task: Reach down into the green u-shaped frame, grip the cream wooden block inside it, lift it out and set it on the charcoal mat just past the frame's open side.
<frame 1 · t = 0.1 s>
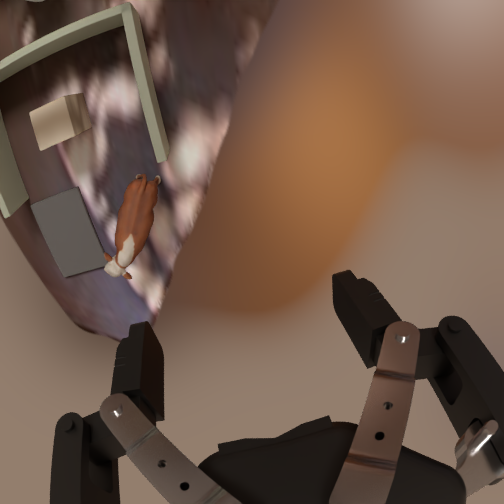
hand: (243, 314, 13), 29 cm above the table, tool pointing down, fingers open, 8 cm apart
cream block: (71, 116, 32), on the table
charcoal mat: (69, 234, 39), on the table
bull figurine: (137, 210, 40), on the table
green u-shaped frame: (68, 109, 31), on the table
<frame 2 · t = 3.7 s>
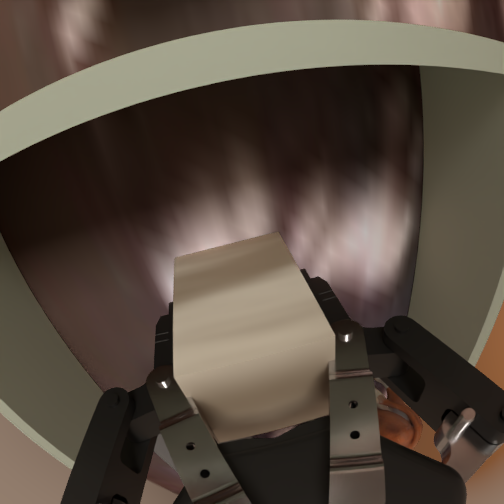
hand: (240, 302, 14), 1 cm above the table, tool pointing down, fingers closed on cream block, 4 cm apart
cream block: (237, 286, 15), on the table, touching gripper
charcoal mat: (203, 444, 22), on the table
bull figurine: (330, 409, 23), on the table
green u-shaped frame: (231, 269, 14), on the table
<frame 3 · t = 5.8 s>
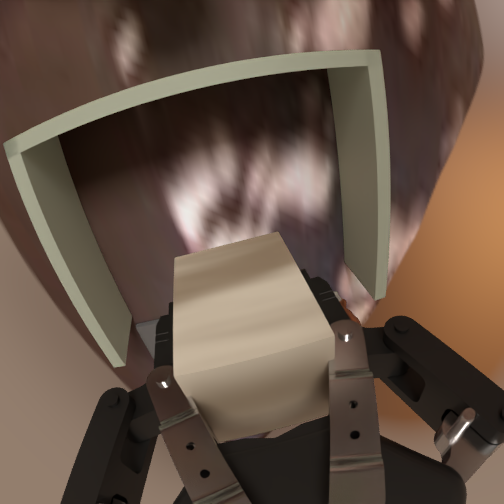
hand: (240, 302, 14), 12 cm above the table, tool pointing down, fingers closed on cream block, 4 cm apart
cream block: (237, 286, 15), point 11 cm above the table, touching gripper
charcoal mat: (195, 357, 31), on the table
green u-shaped frame: (213, 195, 24), on the table
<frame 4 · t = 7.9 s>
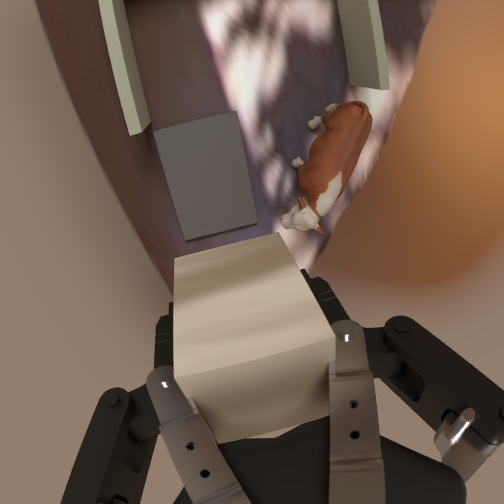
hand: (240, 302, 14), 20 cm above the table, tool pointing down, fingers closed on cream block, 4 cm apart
cream block: (237, 287, 15), point 19 cm above the table, touching gripper
charcoal mat: (208, 177, 31), on the table
bull figurine: (308, 152, 32), on the table
green u-shaped frame: (237, 10, 23), on the table
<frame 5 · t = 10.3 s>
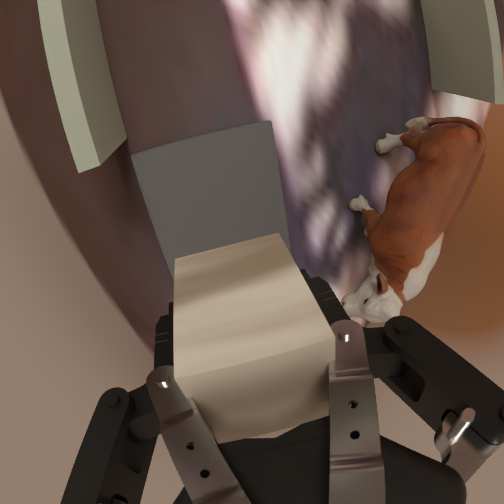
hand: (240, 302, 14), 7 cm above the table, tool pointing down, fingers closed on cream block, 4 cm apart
cream block: (237, 287, 15), point 6 cm above the table, touching gripper
charcoal mat: (222, 227, 20), on the table
bull figurine: (373, 188, 21), on the table
when the fingers open (3 cm above the table, at t = 12.0 s): cream block drops 2 cm, resting on charcoal mat.
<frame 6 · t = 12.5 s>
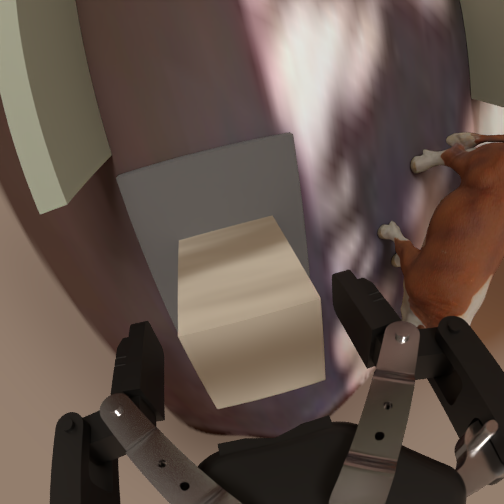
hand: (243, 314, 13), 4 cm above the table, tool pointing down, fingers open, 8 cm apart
cream block: (236, 267, 16), resting on charcoal mat
charcoal mat: (230, 262, 17), on the table
bull figurine: (404, 212, 18), on the table
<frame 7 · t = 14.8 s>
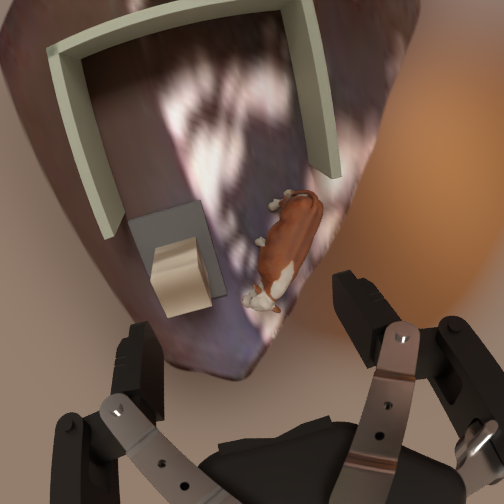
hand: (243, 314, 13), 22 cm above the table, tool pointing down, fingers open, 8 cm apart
cream block: (181, 260, 35), resting on charcoal mat
charcoal mat: (179, 258, 36), on the table
bull figurine: (270, 231, 36), on the table
green u-shaped frame: (196, 101, 28), on the table
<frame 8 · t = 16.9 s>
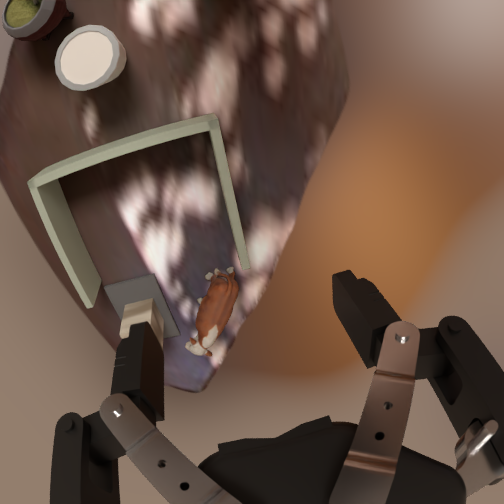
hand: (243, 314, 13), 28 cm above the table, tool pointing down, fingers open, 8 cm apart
mate gourd: (54, 13, 24), on the table
cream block: (144, 312, 46), resting on charcoal mat
charcoal mat: (143, 311, 47), on the table
bull figurine: (209, 292, 48), on the table
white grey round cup: (103, 60, 29), on the table
green u-shaped frame: (144, 205, 39), on the table
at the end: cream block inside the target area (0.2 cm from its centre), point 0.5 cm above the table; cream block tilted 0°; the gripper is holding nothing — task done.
